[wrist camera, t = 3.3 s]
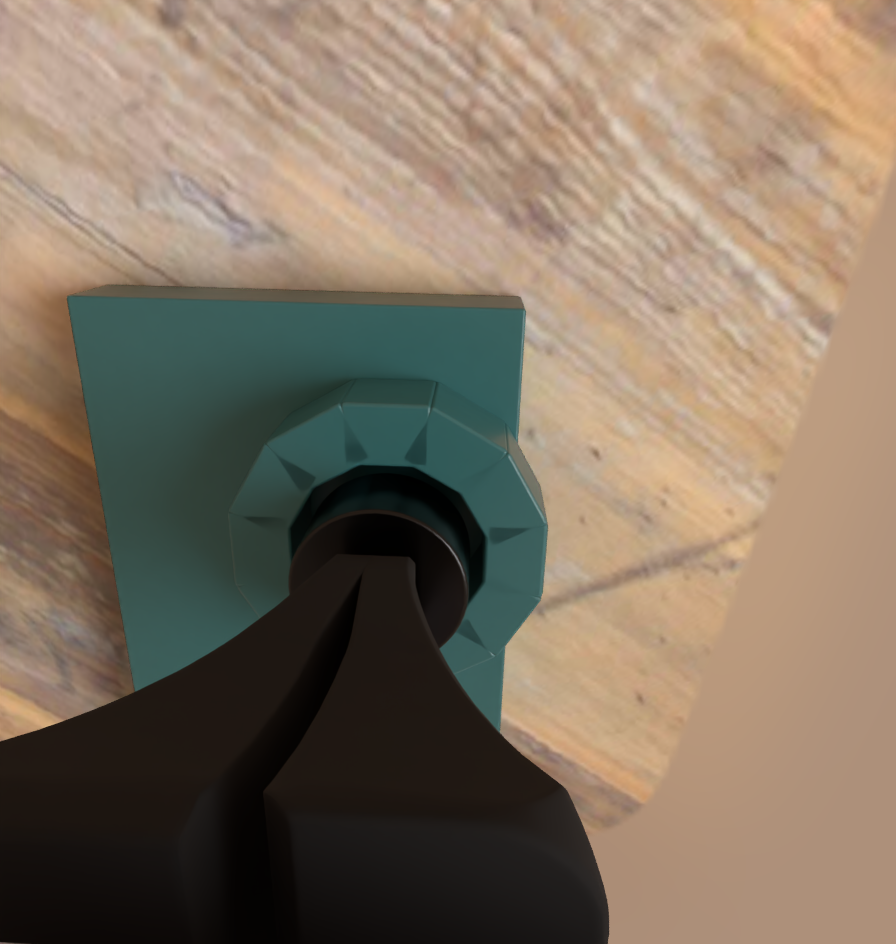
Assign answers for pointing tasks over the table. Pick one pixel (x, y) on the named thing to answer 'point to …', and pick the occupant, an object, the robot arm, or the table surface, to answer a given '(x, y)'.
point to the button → (395, 541)
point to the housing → (299, 450)
